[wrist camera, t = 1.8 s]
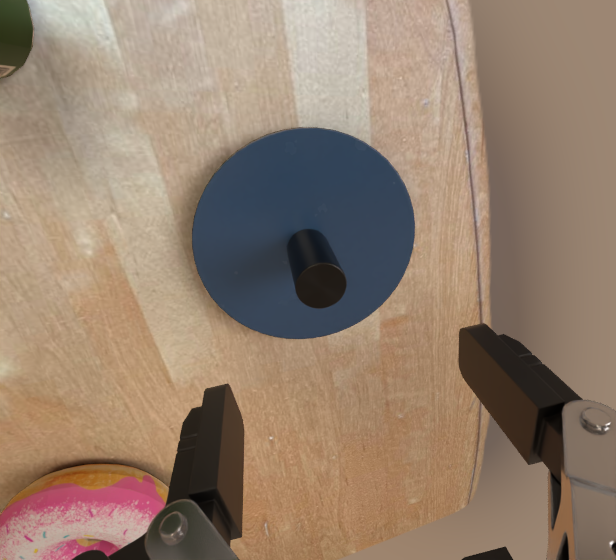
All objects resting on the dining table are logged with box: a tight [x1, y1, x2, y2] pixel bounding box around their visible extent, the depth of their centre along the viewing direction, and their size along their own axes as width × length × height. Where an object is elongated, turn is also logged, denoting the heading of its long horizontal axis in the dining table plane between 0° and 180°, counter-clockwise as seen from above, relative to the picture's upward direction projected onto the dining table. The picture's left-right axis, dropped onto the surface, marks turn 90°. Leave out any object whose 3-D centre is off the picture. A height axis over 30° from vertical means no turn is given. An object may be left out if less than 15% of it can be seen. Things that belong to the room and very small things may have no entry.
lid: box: [192, 127, 415, 339], centre depth 20 cm, size 14×14×6 cm
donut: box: [0, 464, 169, 560], centre depth 30 cm, size 14×13×5 cm
